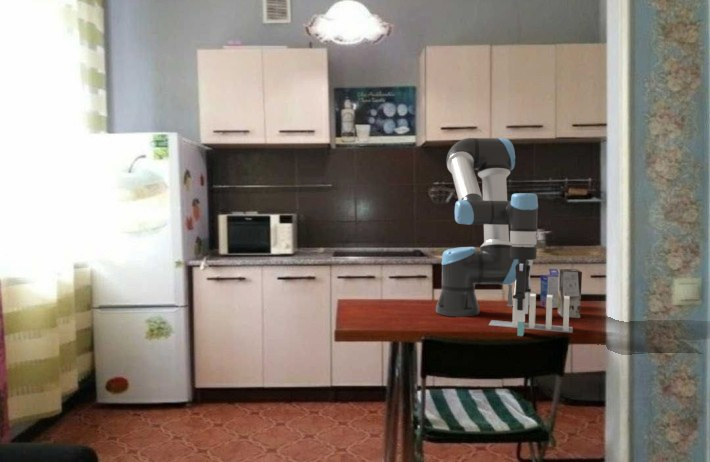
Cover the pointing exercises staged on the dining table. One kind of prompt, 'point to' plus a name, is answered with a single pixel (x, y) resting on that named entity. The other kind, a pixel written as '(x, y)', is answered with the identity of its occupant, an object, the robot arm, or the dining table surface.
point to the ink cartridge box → (549, 288)
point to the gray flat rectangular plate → (526, 326)
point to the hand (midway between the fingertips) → (521, 317)
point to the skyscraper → (515, 288)
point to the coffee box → (570, 291)
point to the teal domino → (520, 329)
